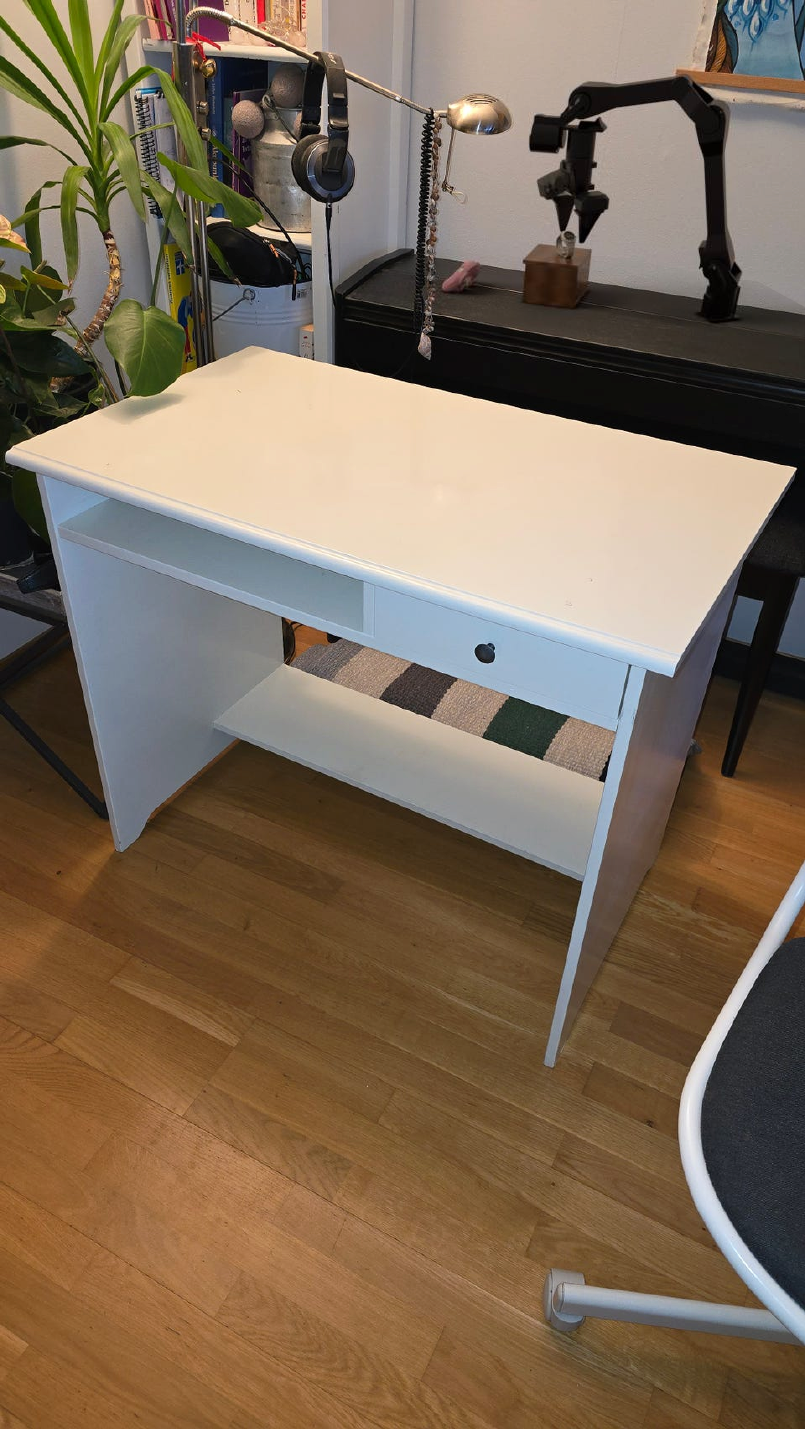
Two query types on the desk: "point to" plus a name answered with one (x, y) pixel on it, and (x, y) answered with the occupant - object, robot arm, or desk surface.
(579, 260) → the sorter lid
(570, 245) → the wristwatch
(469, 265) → the pink rounded lump
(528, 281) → the sorter box
